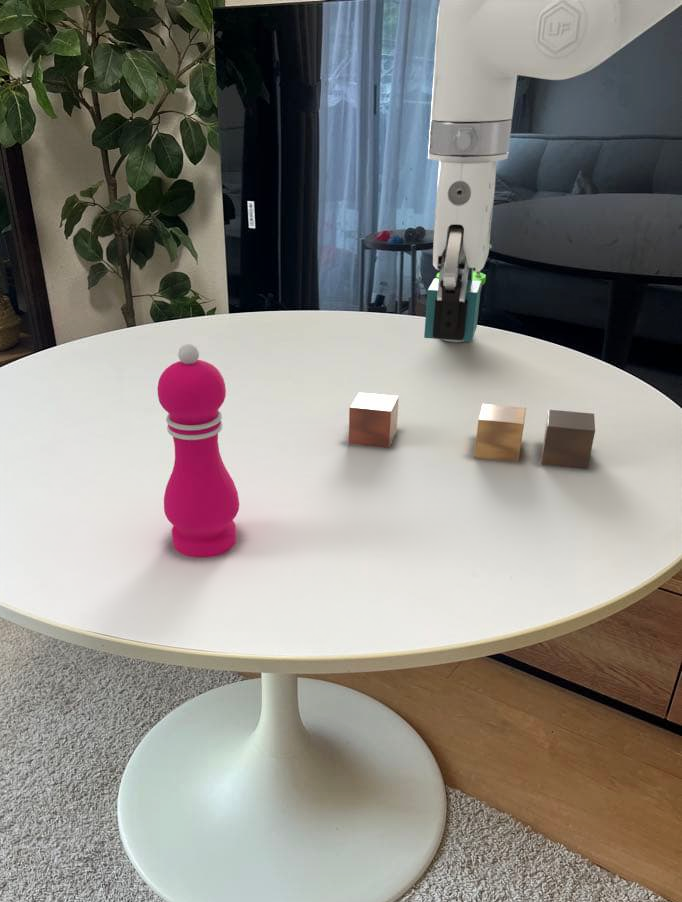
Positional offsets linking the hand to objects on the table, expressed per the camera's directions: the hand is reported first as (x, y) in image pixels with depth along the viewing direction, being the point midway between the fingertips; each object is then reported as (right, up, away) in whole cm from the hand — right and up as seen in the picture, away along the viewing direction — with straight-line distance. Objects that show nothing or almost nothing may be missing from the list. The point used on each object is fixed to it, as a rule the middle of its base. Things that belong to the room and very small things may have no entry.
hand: (451, 328), depth 84 cm
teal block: (0, 0, 0) cm, 0 cm away
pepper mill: (-26, -23, -7) cm, 35 cm away
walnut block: (+15, -13, +7) cm, 21 cm away
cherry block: (-7, -10, +13) cm, 18 cm away
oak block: (+7, -12, +9) cm, 17 cm away
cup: (+11, +10, +46) cm, 48 cm away
